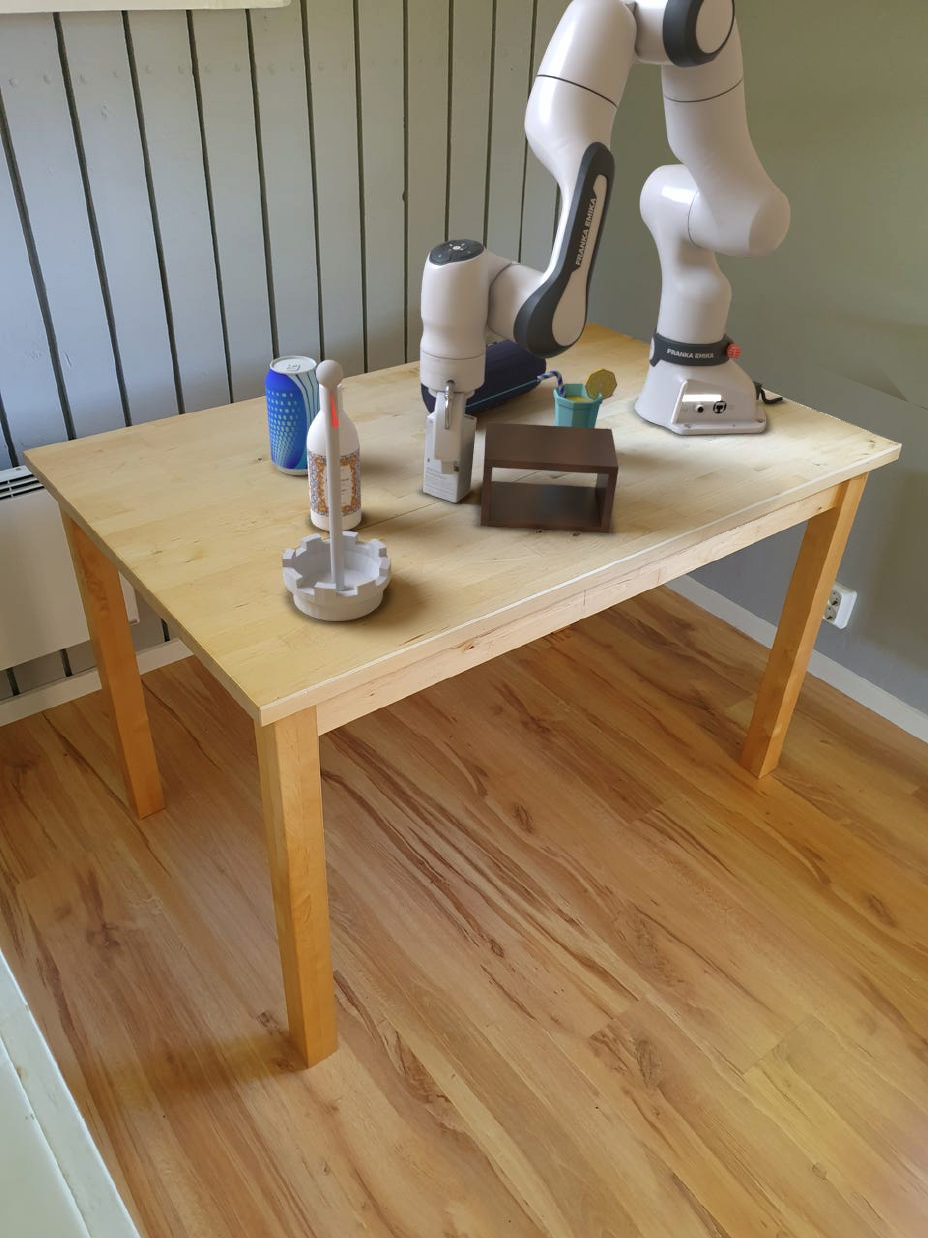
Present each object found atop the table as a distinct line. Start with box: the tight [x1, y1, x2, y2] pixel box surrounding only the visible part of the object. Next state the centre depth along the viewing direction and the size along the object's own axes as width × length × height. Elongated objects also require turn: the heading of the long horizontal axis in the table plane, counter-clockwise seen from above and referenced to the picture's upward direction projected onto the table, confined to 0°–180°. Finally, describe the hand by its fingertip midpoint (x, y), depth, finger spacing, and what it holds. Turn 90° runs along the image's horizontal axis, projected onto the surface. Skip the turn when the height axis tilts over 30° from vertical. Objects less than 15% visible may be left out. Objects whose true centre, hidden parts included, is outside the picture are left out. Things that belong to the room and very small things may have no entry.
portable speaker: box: [420, 339, 547, 416], centre depth 164 cm, size 25×10×10 cm, turn 136°
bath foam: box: [307, 382, 362, 532], centre depth 128 cm, size 7×7×20 cm
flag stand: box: [281, 359, 392, 622], centre depth 110 cm, size 13×13×30 cm
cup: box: [536, 367, 618, 428], centre depth 148 cm, size 14×8×15 cm, turn 119°
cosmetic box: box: [422, 412, 478, 503], centre depth 138 cm, size 6×4×12 cm
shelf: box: [479, 421, 620, 534], centre depth 136 cm, size 18×12×10 cm, turn 87°
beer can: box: [264, 355, 320, 476], centre depth 142 cm, size 8×8×16 cm
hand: (448, 460), depth 138 cm, fingers closed on cosmetic box, 5 cm apart
